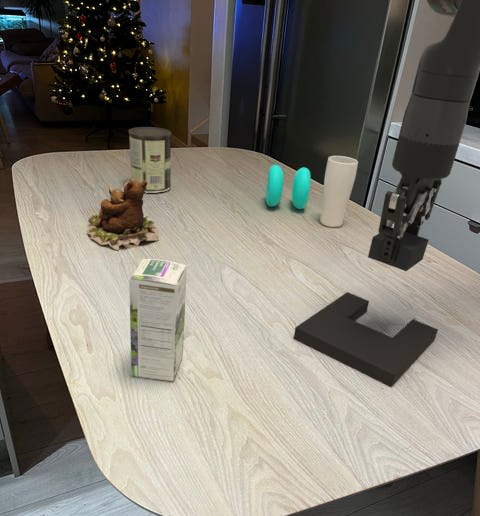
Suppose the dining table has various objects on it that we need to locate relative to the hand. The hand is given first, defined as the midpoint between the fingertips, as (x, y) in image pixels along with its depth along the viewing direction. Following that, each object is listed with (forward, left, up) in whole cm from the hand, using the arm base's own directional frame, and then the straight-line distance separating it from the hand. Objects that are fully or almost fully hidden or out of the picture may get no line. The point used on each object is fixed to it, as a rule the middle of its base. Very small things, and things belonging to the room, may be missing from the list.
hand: (396, 254), depth 72 cm
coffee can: (-19, -74, -13) cm, 77 cm away
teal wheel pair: (-36, -43, -13) cm, 57 cm away
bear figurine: (+6, -55, -13) cm, 57 cm away
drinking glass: (-35, -29, -13) cm, 47 cm away
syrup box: (+31, -17, -13) cm, 38 cm away
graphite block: (0, 0, -1) cm, 1 cm away
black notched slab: (+4, 0, -13) cm, 14 cm away
